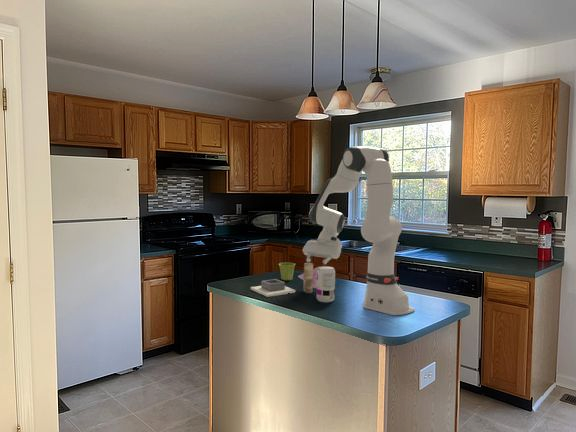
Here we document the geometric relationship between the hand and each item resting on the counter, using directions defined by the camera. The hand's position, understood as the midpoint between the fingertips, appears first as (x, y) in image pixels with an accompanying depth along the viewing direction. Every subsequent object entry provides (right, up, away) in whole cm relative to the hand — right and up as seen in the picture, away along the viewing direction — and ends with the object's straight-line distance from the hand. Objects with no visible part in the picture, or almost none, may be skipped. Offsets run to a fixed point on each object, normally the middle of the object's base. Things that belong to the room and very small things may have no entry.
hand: (315, 262), depth 209 cm
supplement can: (+3, -15, -19) cm, 25 cm away
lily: (-2, -13, +7) cm, 15 cm away
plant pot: (-15, -12, +22) cm, 29 cm away
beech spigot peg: (-4, -14, -5) cm, 15 cm away
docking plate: (-21, -14, -4) cm, 26 cm away
